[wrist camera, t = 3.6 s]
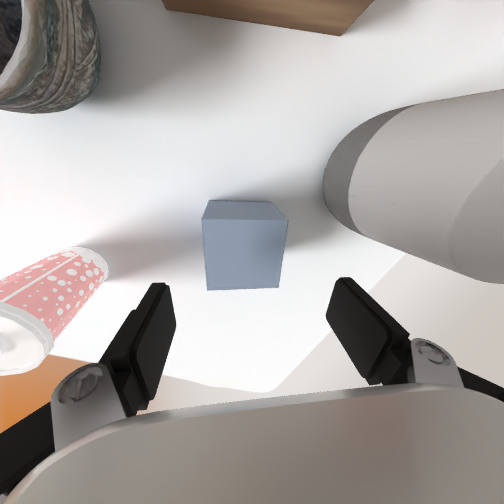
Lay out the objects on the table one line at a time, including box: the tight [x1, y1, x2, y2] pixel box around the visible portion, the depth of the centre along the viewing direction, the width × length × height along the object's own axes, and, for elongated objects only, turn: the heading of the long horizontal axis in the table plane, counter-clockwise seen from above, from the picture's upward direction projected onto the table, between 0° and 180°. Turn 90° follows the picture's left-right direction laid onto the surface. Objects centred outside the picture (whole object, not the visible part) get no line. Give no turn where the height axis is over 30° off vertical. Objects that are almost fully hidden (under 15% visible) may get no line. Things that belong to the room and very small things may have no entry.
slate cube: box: [202, 200, 288, 290], centre depth 17 cm, size 6×6×6 cm
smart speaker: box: [323, 89, 504, 284], centre depth 12 cm, size 10×9×14 cm
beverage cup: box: [0, 247, 109, 375], centre depth 13 cm, size 6×6×14 cm
